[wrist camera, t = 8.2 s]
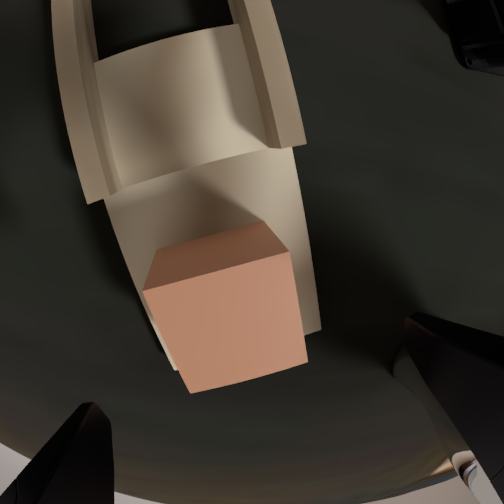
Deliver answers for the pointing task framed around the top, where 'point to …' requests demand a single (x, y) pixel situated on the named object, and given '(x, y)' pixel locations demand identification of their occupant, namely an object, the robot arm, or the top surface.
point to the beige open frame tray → (187, 137)
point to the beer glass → (445, 430)
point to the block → (227, 306)
